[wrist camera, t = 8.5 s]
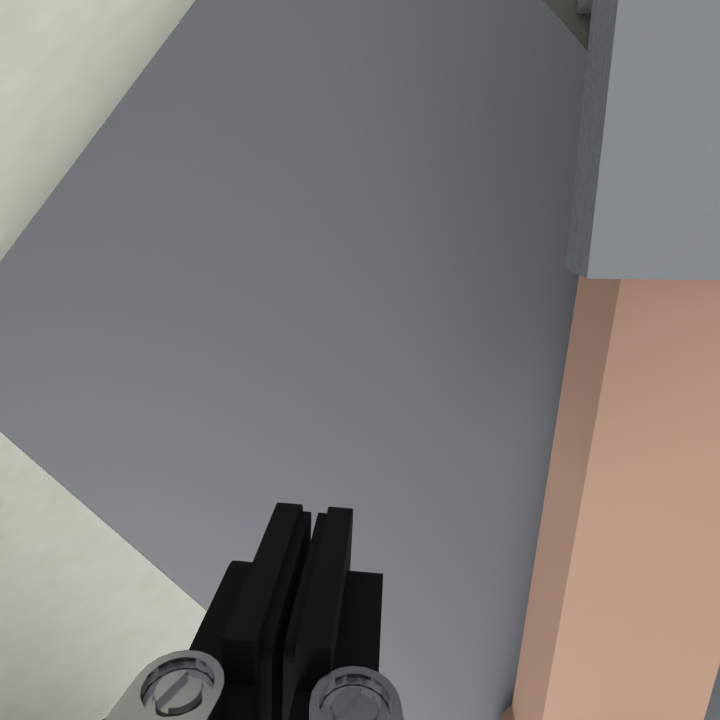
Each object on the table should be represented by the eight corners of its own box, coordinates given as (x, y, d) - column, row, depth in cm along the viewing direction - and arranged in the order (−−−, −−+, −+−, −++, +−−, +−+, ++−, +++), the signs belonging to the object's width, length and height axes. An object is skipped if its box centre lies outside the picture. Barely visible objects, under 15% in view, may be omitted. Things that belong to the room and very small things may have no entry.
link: (629, 810, 19) (689, 985, 15) (483, 790, 20) (501, 954, 15) (817, 60, 13) (1021, -12, 8) (591, 54, 13) (674, -16, 9)
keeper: (730, 425, 17) (927, 569, 11) (505, 417, 18) (557, 547, 11) (842, -138, 13) (1275, -483, 7) (547, -121, 14) (664, -418, 7)
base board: (-40, 352, 19) (-77, 364, 18) (365, -176, 14) (359, -218, 13) (485, 814, 23) (489, 855, 21) (972, 532, 17) (1022, 563, 16)
